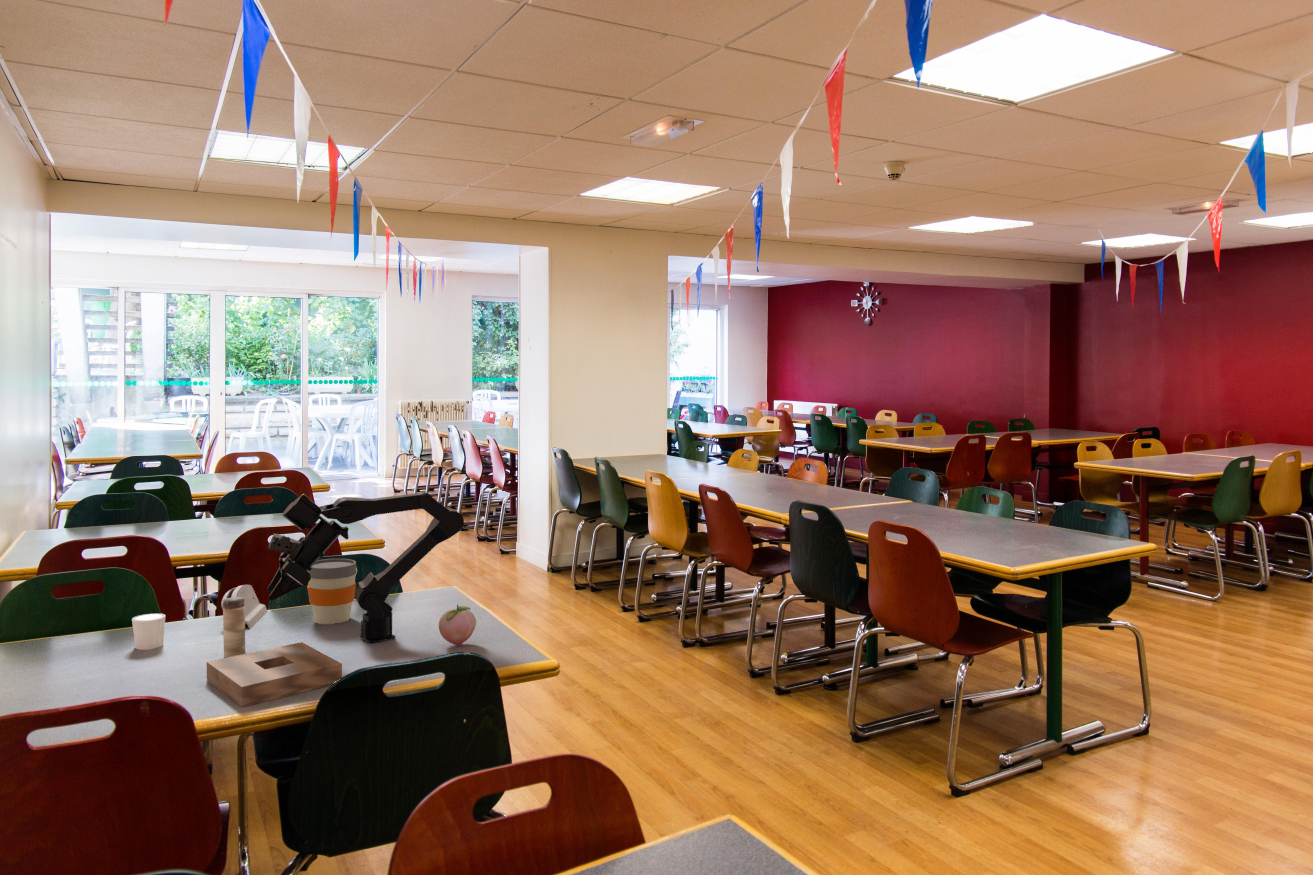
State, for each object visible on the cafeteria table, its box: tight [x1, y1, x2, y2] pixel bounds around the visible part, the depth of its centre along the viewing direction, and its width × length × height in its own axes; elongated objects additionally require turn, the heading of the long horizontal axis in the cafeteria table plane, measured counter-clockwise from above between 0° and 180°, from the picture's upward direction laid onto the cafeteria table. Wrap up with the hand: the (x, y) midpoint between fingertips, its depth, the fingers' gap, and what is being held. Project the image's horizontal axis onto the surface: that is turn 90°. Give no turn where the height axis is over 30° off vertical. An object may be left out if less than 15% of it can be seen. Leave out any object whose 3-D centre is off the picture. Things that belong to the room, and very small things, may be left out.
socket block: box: [206, 641, 343, 708], centre depth 179 cm, size 20×20×4 cm
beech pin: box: [222, 597, 246, 658], centre depth 195 cm, size 4×4×13 cm
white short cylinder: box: [131, 612, 166, 651], centre depth 201 cm, size 7×7×7 cm
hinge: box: [220, 584, 268, 629], centre depth 223 cm, size 17×5×10 cm, turn 11°
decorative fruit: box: [438, 604, 477, 646], centre depth 205 cm, size 9×8×10 cm
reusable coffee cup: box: [307, 558, 358, 625], centre depth 225 cm, size 13×13×15 cm
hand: (269, 594), depth 198 cm, fingers open, 9 cm apart
